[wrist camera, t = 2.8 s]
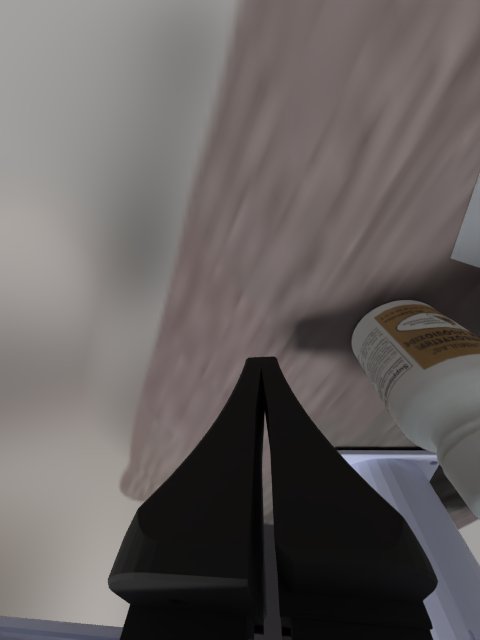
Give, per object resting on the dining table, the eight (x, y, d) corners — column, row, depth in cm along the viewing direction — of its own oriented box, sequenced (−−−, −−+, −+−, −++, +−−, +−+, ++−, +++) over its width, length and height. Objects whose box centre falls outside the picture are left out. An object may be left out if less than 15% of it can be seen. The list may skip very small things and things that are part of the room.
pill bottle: (453, 303, 11) (752, 466, 4) (411, 369, 13) (567, 545, 7) (367, 291, 11) (533, 437, 4) (338, 359, 13) (421, 525, 7)
